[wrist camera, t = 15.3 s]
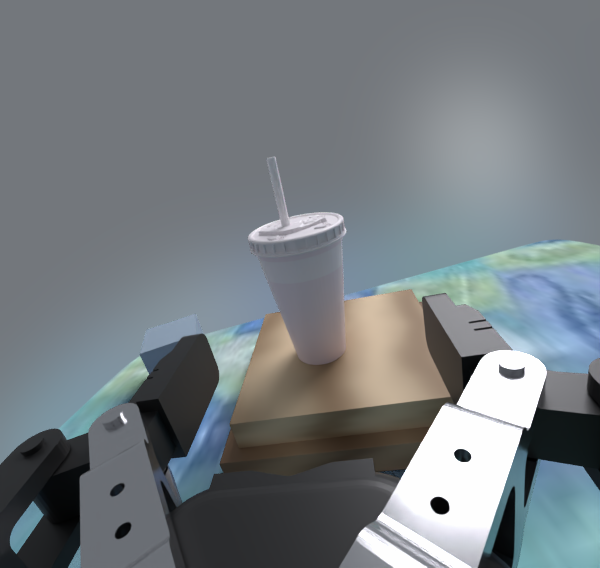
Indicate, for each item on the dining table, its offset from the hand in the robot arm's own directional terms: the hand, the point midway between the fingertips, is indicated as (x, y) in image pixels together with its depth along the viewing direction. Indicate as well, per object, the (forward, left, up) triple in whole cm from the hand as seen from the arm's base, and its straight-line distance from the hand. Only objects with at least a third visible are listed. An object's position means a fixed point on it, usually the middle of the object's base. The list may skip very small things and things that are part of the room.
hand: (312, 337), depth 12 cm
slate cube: (+16, -17, -12) cm, 26 cm away
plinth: (0, -12, -12) cm, 17 cm away
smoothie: (+1, -11, -8) cm, 14 cm away
